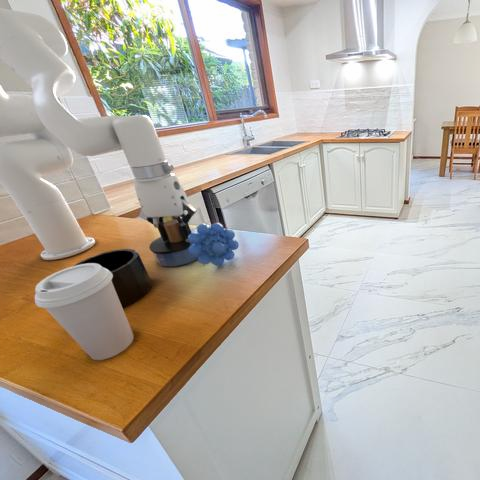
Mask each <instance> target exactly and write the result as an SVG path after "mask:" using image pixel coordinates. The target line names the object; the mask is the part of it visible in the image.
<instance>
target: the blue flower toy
mask: <svg viewBox="0 0 480 480" xmlns="http://www.w3.org/2000/svg"><path fill="white" fill-rule="evenodd" d="M196 229H197V232H198V233H199V234H198V233H191V234H189V236H188V241H189V242H190V243H191V244H194V245H191V246H190V247H189V253H190V254H191V255H193V256H198V259H197V262H199V263H200V264H202V265H209V264H212V265H214V266H216V267H219V266H222V265H224V264H225V260H226V261H231V260H233V259H234V258H235V255H236V254H235V252H234V251H236V250H238V248H239V246H240V245H239V242H238V241H237V240H236V239H234V238H235V236H236V234H235V232H234V230H233V229H230V228H225V226H224V225H223V224H222V223H221V222H220V223H219V222H214V223H212V224H211V225H208V224H207V223H200V224H199V225H198V226H197V227H196Z"/></svg>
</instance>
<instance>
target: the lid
mask: <svg viewBox="0 0 480 480" xmlns="http://www.w3.org/2000/svg"><path fill="white" fill-rule="evenodd" d="M163 225H164V228H165V230H166V233H167V235H168V238H169V239H168V240H167V241H163V239H162V237H161V236H159V237H157V238H156V239H154V240H153V241H152V242H151V243H149V250H150V252H152V254H154V253H157V254H168V253H174V252H179V251H182V250H185V249H188V248H189V247H190V246H191V245H194V244H191V243H190V242H189V241H188V239H187V240H183V238H182V235H181V232H180V230H179V226H180V224H179V223H178V221H177V220H176V219H175V220H170V221H167V222H165V223H164V224H163ZM190 230H191V233H198V232H197V227H196V228H194V227H193V228H190ZM198 234H199V233H198Z"/></svg>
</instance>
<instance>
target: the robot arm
mask: <svg viewBox="0 0 480 480" xmlns="http://www.w3.org/2000/svg"><path fill="white" fill-rule="evenodd" d="M67 53H68V43H67V40H66V38H65V36H64V34H63V32H62V31H61V30H60V29H59V28H58V27H57V25H56V24H54V23H53V22H51V21H50V20H49V19H47V18H45V16H41V15H40V14H35V13H30V12H25V11H19V10H14V9H8V8H3V7H0V60H1V61H2V62H3V63H4V64H6V65H7V66H8V67H9V68H10V69H11V70H12V71H13V72H14V73H15V74H16V75H18V77H20V78H21V79H22V80H23V81H24V82H25V83H26V84H27V85H28V86H29V87H30V88H31V89H32V92H31V94H27V93H6V92H5V90H4V89H3V87H2V86H1V85H0V138H2V137H3V138H4V137H12V136H19V135H28V134H29V135H30V136H31V138H29V139H20V140H19V139H18V140H13V141H6V142H0V185H2V188H4V189H5V191H6V192H7V194H8V195H9V196H10V198H11V199H12V201H13V202H14V203H15V205H16V207H17V208H18V210H19V211H20V212H21V214H22V216H23V217H24V219H25V220H26V223H28V225H29V227H30V228H31V230H32V231H33V233H34V234H35V236H36V238H37V239H38V241H39V242H40V244H41V246H42V247H43V248H44V250H42V251H41V253H40V257H41V259H42V260H44V261H56V260H62V259H66V258H69V257H73V256H76V255H78V254H81V253H83V252H86V251H87V250H89V249H91V248H92V247H94V246H95V244H96V240H95V238H94V237H90V236H86V235H85V233H84V231H83V229H82V228H81V226H80V224H79V221H77V219H76V217H75V215H74V213H73V212H72V209H71V207H70V206H69V204H68V201H66V199H65V197H64V196H63V194H62V192H61V190H60V189H59V188H58V187H56V185H54V184H53V183H51V182H49V181H48V180H46V179H44V178H43V177H44V176H47V175H50V174H51V175H52V174H55V173H58V172H62V171H65V170H68V169H70V168H71V167H72V165H73V164H74V157H73V153H72V151H73V152H74V153H76V154H78V155H81V156H84V157H96V156H100V155H105V154H108V153H112V152H113V153H114V152H119V151H123V153H124V156H125V158H126V161H127V163H128V165H129V168H130V170H131V172H132V175H133V178H134V179H133V186H134V190H135V194H136V198H137V200H138V203H139V206H140V212H139V214H138V216H139V218H141V219H143V220H145V221H147V222H148V223H150V224H151V225H153V227H154V228H155V229H157V230H158V233H159V235H160V237H162V239H163V241H167V240H168V239H169V238H168V235H167V233H166V230H165V228H164V225H163V224H164V217H169V216H174V217H175V218H176V220H177V221H178V223H179V224H180V226H179V230H180V232H181V235H182V238H183V240H187V239H188V236H189V234H191V230H190V229H191V228H190V224H189V222H190V220H192V217H193V216H195V214H196V213H197V212H198V211H197V209H196V208H195V207H194V206H193V205H191V204H190V201H189V198H188V196H187V193H186V192H185V189H184V187H183V185H182V183H181V181H180V180H179V178H178V177H177V175H176V174H175V173H172V171H174V170H175V168H174V166H173V164H169V162H168V161H167V158H166V155H165V152H164V150H163V147H162V144H161V142H160V139H159V136H158V133H157V131H156V128H155V125H154V123H153V120H152V119H151V118H150V116H148V115H145V114H136V115H135V114H133V115H126V116H123V115H105V116H94V117H83V118H77V117H76V116H74V115H73V114H72V113H71V112H70V111H69V110H68V109H67V108H66V107H65V106H64V105H63V104H62V103H61V102H60V101H59V98H61V97H63V96H64V95H66V94H67V93H69V91H70V90H71V89H72V88H73V87H74V86H75V83H76V75H75V72H74V71H73V70H72V68H71V67H70V66H69V65H68V64H67V63H65V62H64V61H63V60H62V58H65V56H66V55H67ZM185 211H187V213H186V212H185ZM181 217H182V218H181Z"/></svg>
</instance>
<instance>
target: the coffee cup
mask: <svg viewBox="0 0 480 480" xmlns="http://www.w3.org/2000/svg"><path fill="white" fill-rule="evenodd" d="M75 265H76V264H75ZM112 278H113V274H112V273H111V272H110V271H109V270H107V269H106V268H103V267H102V266H101V265H99V264H96V263H87V264H80V265H76V266H74V265H72V266H69V267H65V268H63V269H61V270H59V271H56V272H54V273H52V274H50V275H48V276H46V277H44V278H43V279H42V280H41V281H39V282H38V283H37V284H36V286H35V288H34V291H35V294H34V303H35V305H36V306H37V307H38V308H44V309H45V310H46V311H47V313H49V315H51V316H52V317H53V319H54V320H55V321H56V322H57V323H58V324H59V325H60V326H61V327H62V328H63V329H64V330H65V331H66V333H67V334H68V335H69V336H70V337H71V338H72V339H73V340H74V342H76V344H78V346H80V348H81V349H82V350H83V351H84V352H85V353H86V354H87V356H88V357H90V358H91V360H94V361H104V360H107V359H110V358H113V357H115V356H117V355H119V354H120V353H122V352H124V351H125V350H126V349H127V348H128V347H130V346H131V344H132V343H133V342H134V339H135V335H134V333H133V329H132V328H131V325H130V323H129V320H128V317H127V315H126V313H125V310H124V308H122V306H121V303H120V301H119V298H118V296H117V293H116V291H115V288H114V286H113V283H112V281H111V280H112Z"/></svg>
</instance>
